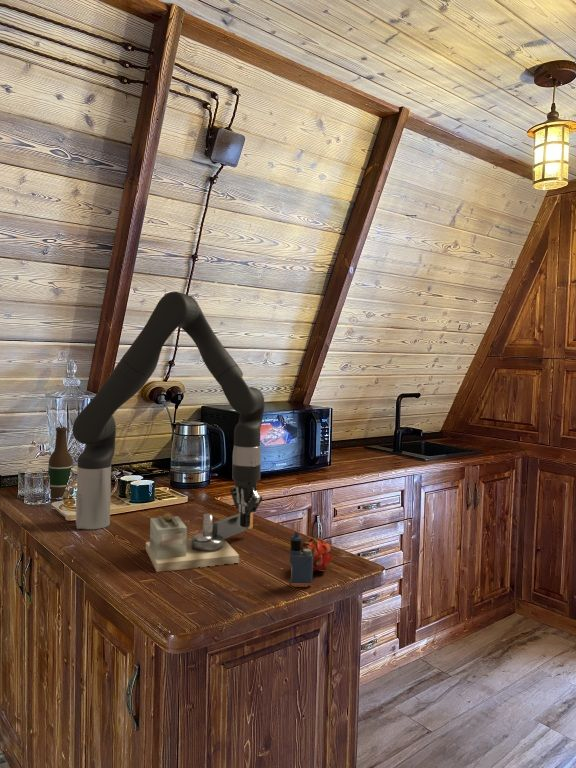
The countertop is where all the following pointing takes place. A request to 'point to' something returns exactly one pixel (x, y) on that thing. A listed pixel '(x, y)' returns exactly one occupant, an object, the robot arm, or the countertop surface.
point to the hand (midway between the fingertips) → (245, 526)
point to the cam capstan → (217, 532)
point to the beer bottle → (59, 464)
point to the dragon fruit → (318, 552)
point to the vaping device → (300, 561)
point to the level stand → (181, 547)
